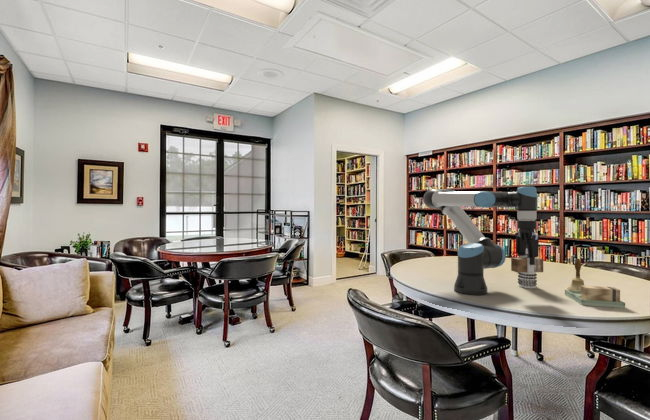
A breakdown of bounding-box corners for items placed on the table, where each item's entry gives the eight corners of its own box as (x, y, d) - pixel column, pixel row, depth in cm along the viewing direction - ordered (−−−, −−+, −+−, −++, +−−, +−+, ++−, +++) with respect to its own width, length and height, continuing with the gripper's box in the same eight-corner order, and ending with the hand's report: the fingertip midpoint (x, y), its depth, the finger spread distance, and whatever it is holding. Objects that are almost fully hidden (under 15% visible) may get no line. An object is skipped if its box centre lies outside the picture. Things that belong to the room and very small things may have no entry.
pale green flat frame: (581, 304, 135) (581, 299, 135) (564, 294, 152) (564, 289, 152) (625, 308, 131) (625, 302, 131) (602, 296, 147) (602, 292, 147)
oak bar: (585, 301, 136) (585, 287, 136) (580, 298, 140) (580, 285, 140) (620, 304, 132) (620, 289, 132) (613, 301, 137) (613, 287, 137)
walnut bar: (517, 272, 143) (517, 259, 143) (511, 270, 148) (511, 257, 148) (543, 272, 143) (543, 258, 143) (536, 270, 148) (536, 257, 148)
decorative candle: (536, 285, 169) (536, 238, 169) (538, 289, 161) (538, 240, 161) (516, 283, 174) (516, 238, 173) (517, 287, 165) (517, 239, 165)
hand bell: (592, 292, 155) (592, 260, 155) (573, 291, 156) (573, 259, 156) (582, 288, 163) (582, 257, 163) (564, 287, 165) (564, 257, 164)
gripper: (548, 220, 137) (548, 274, 137) (522, 219, 154) (522, 267, 154) (531, 221, 137) (531, 274, 137) (507, 219, 154) (507, 267, 154)
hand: (526, 270), depth 146 cm, fingers closed on walnut bar, 4 cm apart
